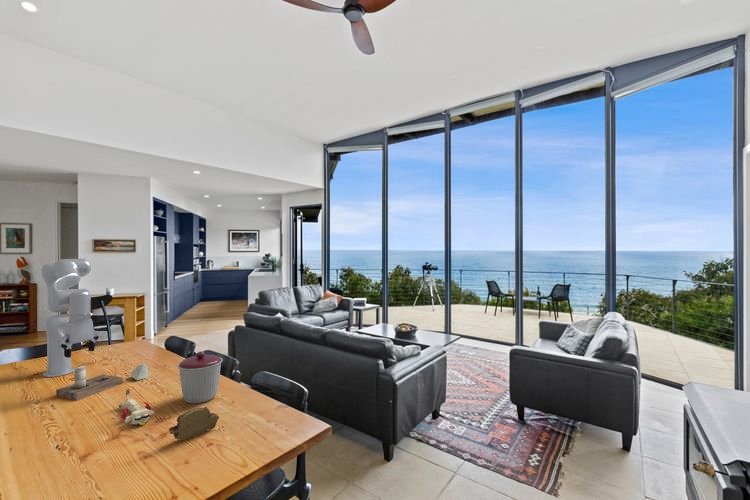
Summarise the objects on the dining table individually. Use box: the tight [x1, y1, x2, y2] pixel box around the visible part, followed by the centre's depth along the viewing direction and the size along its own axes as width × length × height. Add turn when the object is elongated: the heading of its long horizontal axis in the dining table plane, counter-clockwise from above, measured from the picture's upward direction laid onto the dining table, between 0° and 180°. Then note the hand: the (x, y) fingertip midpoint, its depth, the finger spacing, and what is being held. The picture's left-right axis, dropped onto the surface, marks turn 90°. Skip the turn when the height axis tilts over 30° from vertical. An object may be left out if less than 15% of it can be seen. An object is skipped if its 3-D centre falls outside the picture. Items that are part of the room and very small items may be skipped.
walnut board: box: [55, 374, 123, 401], centre depth 162 cm, size 14×20×3 cm
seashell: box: [130, 363, 149, 381], centre depth 177 cm, size 8×8×8 cm
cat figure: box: [118, 388, 155, 426], centre depth 137 cm, size 10×9×25 cm
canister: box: [176, 351, 224, 404], centre depth 153 cm, size 18×18×21 cm
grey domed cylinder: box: [74, 365, 87, 390], centre depth 158 cm, size 4×4×12 cm
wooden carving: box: [168, 406, 220, 440], centre depth 122 cm, size 16×5×10 cm, turn 141°
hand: (79, 354), depth 158 cm, fingers open, 9 cm apart
